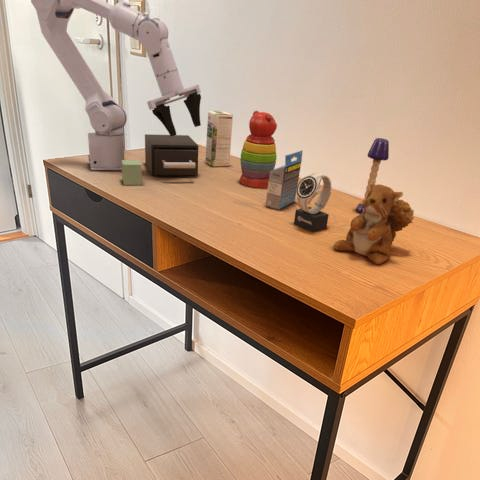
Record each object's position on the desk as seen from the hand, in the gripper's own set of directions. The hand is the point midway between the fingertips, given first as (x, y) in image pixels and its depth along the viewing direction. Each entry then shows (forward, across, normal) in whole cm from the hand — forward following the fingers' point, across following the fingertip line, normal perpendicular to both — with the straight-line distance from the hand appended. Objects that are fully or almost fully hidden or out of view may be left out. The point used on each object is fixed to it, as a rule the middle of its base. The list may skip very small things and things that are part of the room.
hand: (185, 130), depth 125 cm
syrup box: (+13, +14, +13) cm, 22 cm away
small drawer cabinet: (+9, -2, +12) cm, 15 cm away
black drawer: (+9, -4, +7) cm, 12 cm away
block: (+7, -18, +4) cm, 19 cm away
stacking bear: (+18, +12, -7) cm, 23 cm away
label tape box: (+22, +5, -24) cm, 32 cm away
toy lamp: (+29, +19, -36) cm, 50 cm away
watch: (+25, 0, -38) cm, 45 cm away
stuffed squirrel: (+30, +1, -52) cm, 60 cm away
